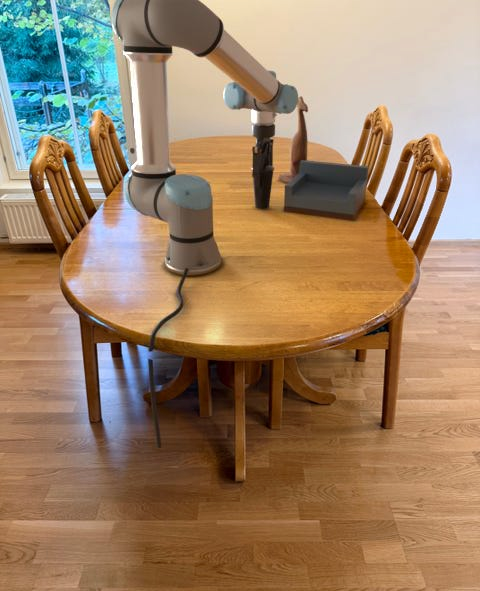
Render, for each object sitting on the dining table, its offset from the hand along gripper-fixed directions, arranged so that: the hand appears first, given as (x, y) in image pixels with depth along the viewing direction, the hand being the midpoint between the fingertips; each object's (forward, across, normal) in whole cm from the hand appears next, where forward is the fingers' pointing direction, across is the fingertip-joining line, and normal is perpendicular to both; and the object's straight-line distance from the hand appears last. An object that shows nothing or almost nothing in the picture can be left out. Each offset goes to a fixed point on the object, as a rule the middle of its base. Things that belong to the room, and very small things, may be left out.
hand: (262, 193), depth 169 cm
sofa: (+5, +9, -20) cm, 23 cm away
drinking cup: (+5, 0, 0) cm, 5 cm away
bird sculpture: (+5, +34, -2) cm, 35 cm away
